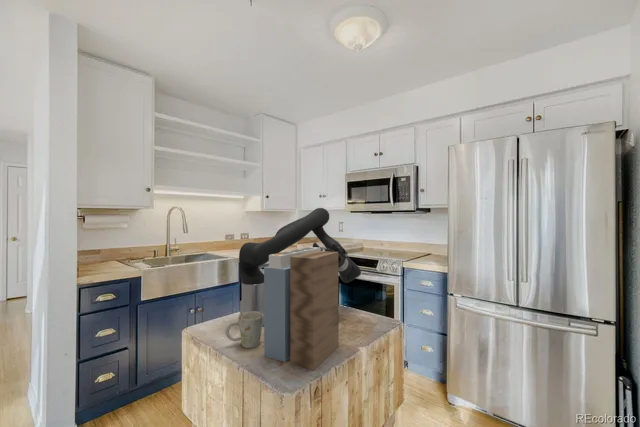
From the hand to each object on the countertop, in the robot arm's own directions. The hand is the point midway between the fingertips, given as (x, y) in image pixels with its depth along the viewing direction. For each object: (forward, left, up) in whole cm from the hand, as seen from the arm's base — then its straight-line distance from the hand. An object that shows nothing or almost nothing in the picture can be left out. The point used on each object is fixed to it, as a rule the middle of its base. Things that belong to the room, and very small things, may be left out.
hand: (323, 245), depth 119 cm
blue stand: (0, -24, -32) cm, 40 cm away
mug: (-15, -29, -32) cm, 46 cm away
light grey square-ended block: (0, -19, -4) cm, 20 cm away
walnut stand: (+10, -24, -32) cm, 41 cm away
